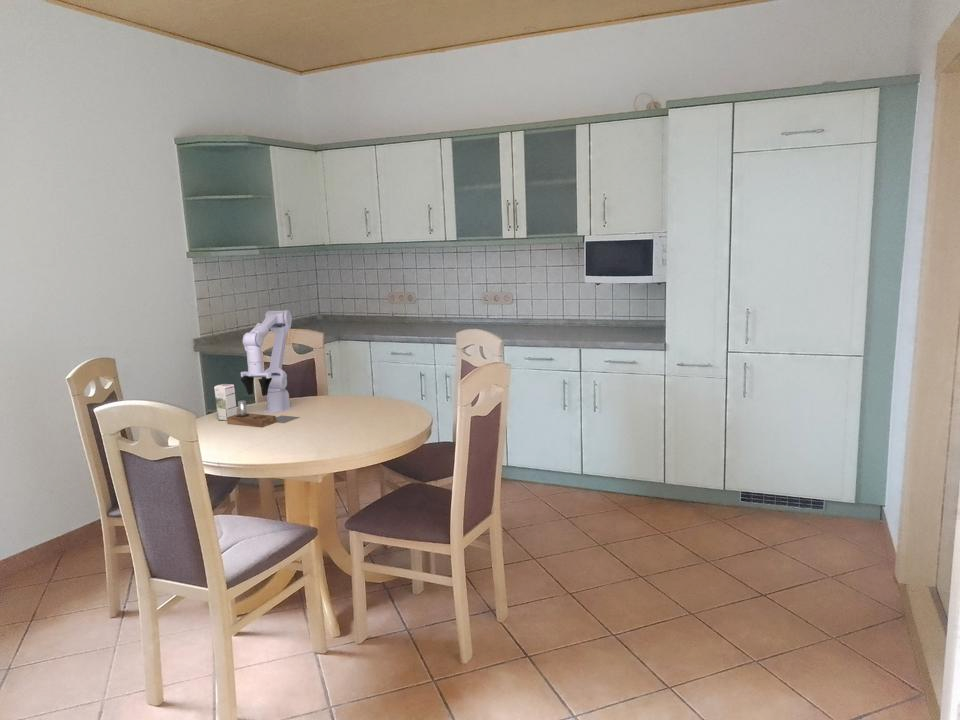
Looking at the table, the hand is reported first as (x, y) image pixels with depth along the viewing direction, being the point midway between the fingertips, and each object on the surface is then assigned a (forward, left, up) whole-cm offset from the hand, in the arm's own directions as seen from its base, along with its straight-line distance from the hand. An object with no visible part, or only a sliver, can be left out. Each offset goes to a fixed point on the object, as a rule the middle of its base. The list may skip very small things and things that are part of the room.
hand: (257, 394), depth 286 cm
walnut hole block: (+7, +2, -10) cm, 12 cm away
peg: (+6, -3, -10) cm, 13 cm away
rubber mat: (-2, +10, -10) cm, 15 cm away
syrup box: (+4, -14, -11) cm, 18 cm away
